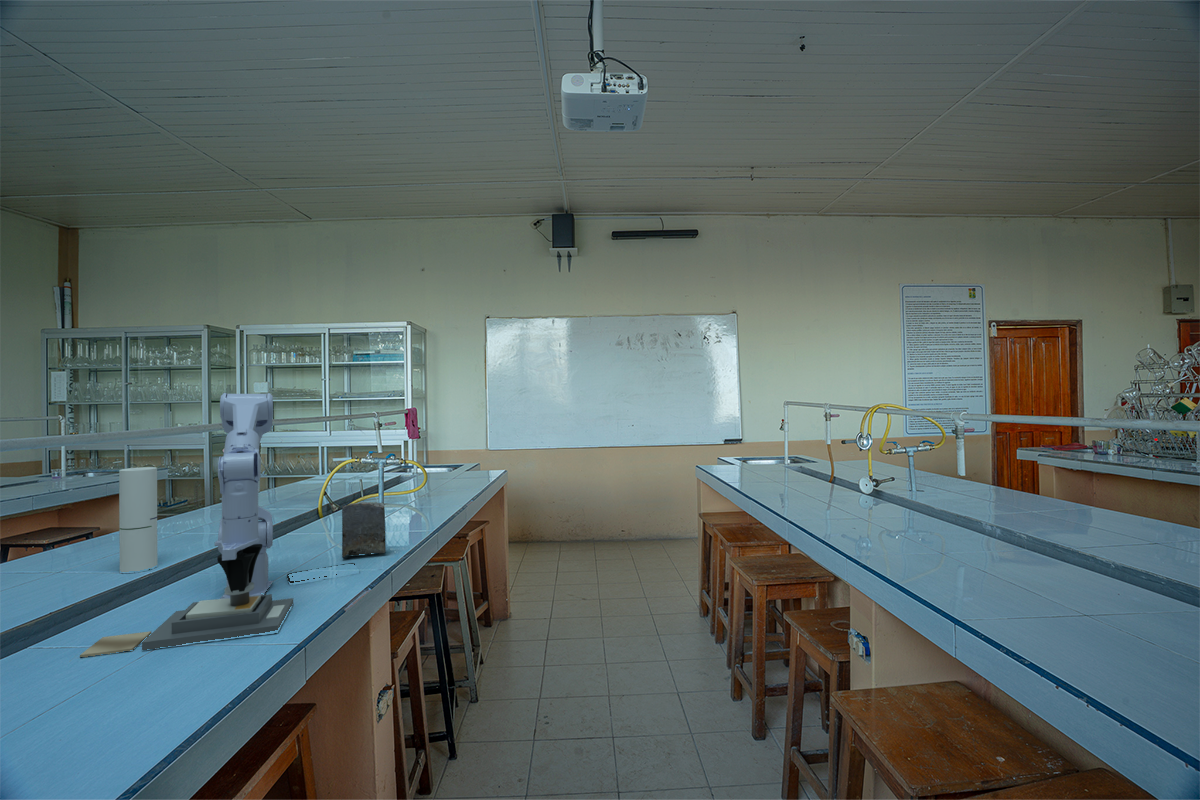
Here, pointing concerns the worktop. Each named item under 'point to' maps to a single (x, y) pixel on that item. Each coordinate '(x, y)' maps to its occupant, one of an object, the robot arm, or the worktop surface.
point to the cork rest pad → (115, 644)
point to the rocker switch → (220, 608)
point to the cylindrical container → (138, 518)
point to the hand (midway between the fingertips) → (241, 588)
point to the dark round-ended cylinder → (240, 594)
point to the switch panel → (219, 624)
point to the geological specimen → (363, 528)
